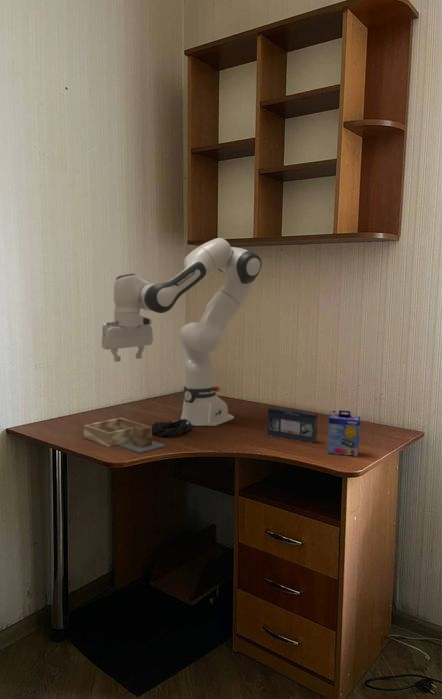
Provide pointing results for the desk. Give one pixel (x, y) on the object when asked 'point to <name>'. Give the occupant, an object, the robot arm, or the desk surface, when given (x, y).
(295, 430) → the vhs cassette tape
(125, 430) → the crate
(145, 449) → the pad
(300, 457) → the desk surface
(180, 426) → the cable
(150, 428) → the block
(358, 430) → the ink cartridge box
